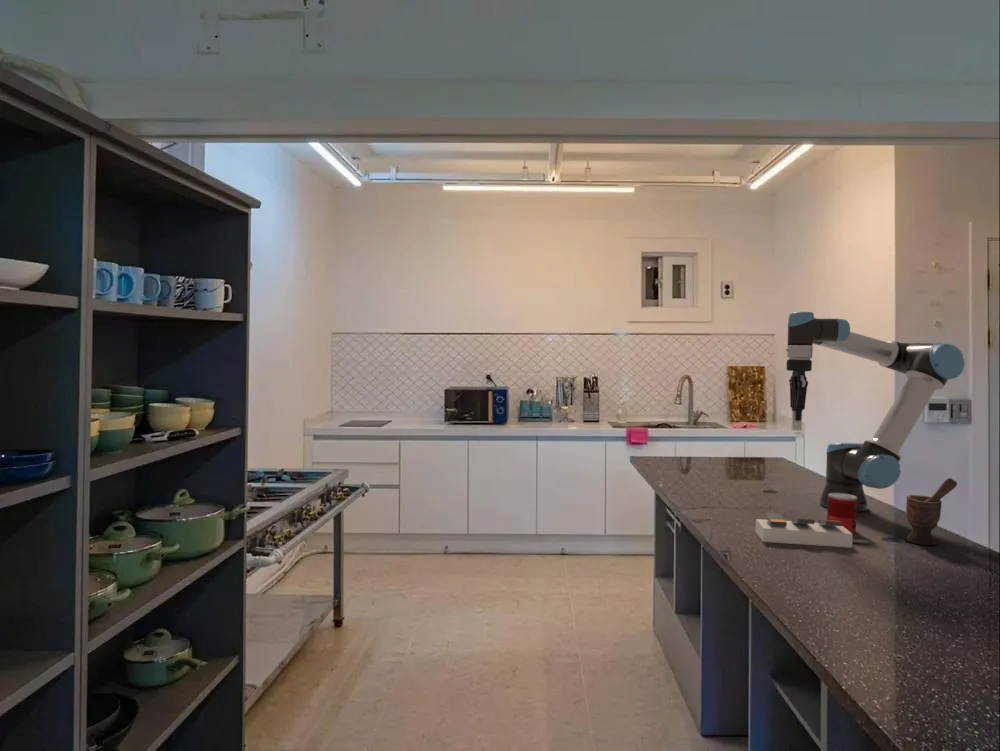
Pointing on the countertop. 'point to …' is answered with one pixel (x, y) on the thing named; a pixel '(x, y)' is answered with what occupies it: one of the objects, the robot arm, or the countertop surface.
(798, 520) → the rocker middle
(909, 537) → the mortar and pestle
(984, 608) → the countertop surface
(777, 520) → the block
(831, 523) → the rocker
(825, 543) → the rocker switch panel
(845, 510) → the canned food
